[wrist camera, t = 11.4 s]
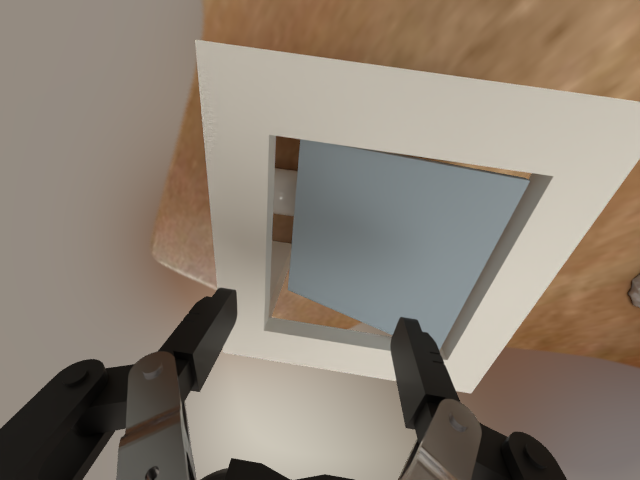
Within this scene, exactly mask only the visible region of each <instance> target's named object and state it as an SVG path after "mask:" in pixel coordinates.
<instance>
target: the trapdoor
mask: <svg viewBox="0 0 640 480" xmlns="http://www.w3.org/2000/svg"><path fill="white" fill-rule="evenodd" d="M529 182H530V180H528V179H526V178H523V177H518V176H512V175H507V174H501V173H496V172H491V171H485V170H480V169H474V168H469V167H463V166H458V165H453V164H447V163H442V162H436V161H431V160H426V159H420V158H415V157H409V156H404V155H399V154H393V153H388V152H382V151H377V150H371V149H364V148H357V147H350V146H343V145H337V144H330V143H323V142H316V141H309V140H302V139H300V149H299V162H298V174H297V186H296V198H295V210H294V222H293V234H292V246H291V258H290V270H289V282H288V290H289V291H292V292H294V293H296V294H299V295H301V296H303V297H305V298H308V299H310V300H312V301H315V302H317V303H319V304H322V305H324V306H326V307H329V308H331V309H333V310H335V311H338V312H340V313H342V314H345V315H347V316H349V317H352V318H354V319H356V320H359V321H361V322H363V323H366V324H368V325H370V326H373V327H375V328H377V329H379V330H382V331H384V332H386V333H389V334H391V335H393V333H394V330H395V328H396V325H397V323H398V320H399V318H400V317H405V318H411V319H417V320H418V322H419V324H420V327H421V330H422V332H427V333H429V335H430V336H431V337H432V338H433V339H434V341H435V342H436V344H437V346H438V349H439V350H440V348H441V347H442V345H443V343H444V341H445V339H446V337H447V335H448V333H449V332H450V330H451V328H452V326H453V324H454V322H455V320H456V319H457V317H458V315H459V313H460V311H461V309H462V307H463V306H464V304H465V302H466V300H467V298H468V296H469V294H470V292H471V291H472V289H473V287H474V285H475V283H476V281H477V279H478V278H479V276H480V274H481V272H482V270H483V268H484V266H485V265H486V263H487V261H488V259H489V257H490V255H491V253H492V251H493V250H494V248H495V246H496V244H497V242H498V240H499V238H500V237H501V235H502V233H503V231H504V229H505V227H506V225H507V223H508V222H509V220H510V218H511V216H512V214H513V212H514V210H515V209H516V207H517V205H518V203H519V201H520V199H521V197H522V196H523V194H524V192H525V190H526V188H527V186H528V184H529Z"/></svg>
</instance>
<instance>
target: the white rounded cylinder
mask: <svg viewBox="0 0 640 480" xmlns="http://www.w3.org/2000/svg"><path fill="white" fill-rule="evenodd" d="M297 174H298V171H293V170H286V169H279V168H275V175H274V201H273V213H274V214H281V215H288V216H294V210H295V198H296V186H297Z"/></svg>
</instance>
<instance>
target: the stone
mask: <svg viewBox="0 0 640 480" xmlns="http://www.w3.org/2000/svg"><path fill="white" fill-rule="evenodd" d="M632 282H633V283H632V286H631V290H630V291H629V293H628V294H629V295H630V296H631V299H632V302H633V305H634V306H638V307H640V274H639V275H638V276H637V277H636V278H634V279H633V280H632Z"/></svg>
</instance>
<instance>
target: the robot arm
mask: <svg viewBox="0 0 640 480" xmlns="http://www.w3.org/2000/svg"><path fill="white" fill-rule="evenodd" d="M236 319H237V292H236V290H234V289H227V288H221V287H220V288H218V290H217V291H216V292H215V294H214V295H213V296H212V297H204V298H203V299H201V300H200V301H198V302H197V303H196V304H195V305H194V306H193V308H192V309H191V310H190V311H189V314H187V315H186V316H185V318H184V319H183V321H181V323H180V324H179V325H178V327H177V328H176V329H175V330H174V332H173V333H172V334H171V336H170V337H169V338H168V339H167V341H166V342H165V343H164V344H163V346H162V347H161V348H160V349H159V350H158V351H157V352H154V353H151V354H148V355H146V356H145V357H143V358H141V359H140V360H139V361H137V362H136V363H135V364H133V365H127V366H119V367H113V368H105V367H104V365H103V363H102V362H101V361H99V360H95V359H90V360H83V361H80V362H77V363H74V364H72V365H70V366H68V367H67V368H65V369H63V370H62V371H61V372H59V373H58V374H57V375H56V376H55V377H54V378H53V379H52V380H51V381H49V383H47V385H45V386H44V388H42V389H41V390H40V391H39V392H38V393H37V394H36V395H35V396H34V397H33V398H32V399H31V400H30V401H29V402H28V403H27V404H26V405H25V406H24V407H23V408H22V409H20V410H19V412H17V413H16V414H15V415H14V416H13V417H12V418H11V419H10V420H9V421H8V422H7V423H6V424H5V425H4V426H3V427H2V428H1V429H0V480H83V478H84V476H85V475H86V474H87V472H88V471H89V469H90V468H91V466H92V464H93V463H94V462H95V460H96V459H97V457H98V456H99V454H100V453H101V451H102V450H103V448H104V447H105V445H106V444H107V442H108V441H109V439H110V438H111V436H112V435H113V433H114V432H115V430H120V429H125V428H126V431H125V435H124V436H123V437H122V438H121V439H120V443H119V449H118V464H117V478H116V480H196V473H195V466H194V461H193V455H192V449H191V442H190V434H189V427H188V420H187V413H186V405H185V400H186V398H187V396H188V394H189V393H190V391H197V392H200V390H201V388H202V386H203V385H204V383H205V381H206V379H207V377H208V375H209V373H210V371H211V369H212V367H213V365H214V364H215V361H216V360H217V358H218V356H219V354H220V352H221V350H222V348H223V346H224V344H225V342H226V341H227V339H228V337H229V335H230V333H231V331H232V329H233V327H234V325H235V323H236ZM390 350H391V356H392V361H393V366H394V371H395V376H396V381H397V386H398V391H399V396H400V401H401V406H402V411H403V416H404V421H405V426H406V428H410V429H415V430H416V434H417V440H416V441H415V444H414V446H413V448H412V450H411V452H410V454H409V457H408V459H407V461H406V463H405V465H404V468H403V470H402V472H401V474H400V476H399V478H398V480H567V479H566V477H565V475H564V474H563V472H562V470H561V468H560V467H559V465H558V463H557V461H556V460H555V459H554V457H553V456H552V454H551V453H550V452H549V451H548V450H547V448H546V447H544V446H543V445H542V444H541V443H540V442H539V441H538V440H536V439H535V438H533V437H531V436H530V435H528V434H526V433H523V432H513V433H512V434H511V435H510V436H509V437H507V436H505V435H503V434H500V433H499V432H497V431H494V430H492V429H490V428H488V427H486V426H484V425H483V424H481V423H479V422H478V420H477V418H476V417H475V415H474V414H473V413H472V412H471V411H470V409H469V408H467V407H466V406H465V405H464V404H462V403H461V402H460V400H459V398H458V395H457V393H456V390H455V388H454V385H453V383H452V381H451V378H450V376H449V373H448V371H447V368H446V366H445V365H444V361H443V358H442V356H441V355H440V351H439V349H438V346H437V344H436V342H435V341H434V339H433V338H432V337H431V336H430V335H429V333H427V332H422V330H421V327H420V324H419V322H418V320H417V319H411V318H405V317H400V318H399V320H398V323H397V325H396V328H395V330H394V333H393V336H392V338H391V344H390ZM201 480H290V479H288V478H286V477H284V476H283V475H281V474H279V473H278V472H276V471H274V470H272V469H271V468H269V467H267V466H265V465H263V464H262V463H256V462H249V461H245V460H239V459H233V458H231V461H230V464H229V467H228V468H226V469H222V470H219V471H216V472H214V473H212V474H210V475H207V476H206V477H204V478H202V479H201ZM297 480H354V479H348V478H342V477H336V476H331V475H319V476H314V477H308V478H303V479H297Z"/></svg>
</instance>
